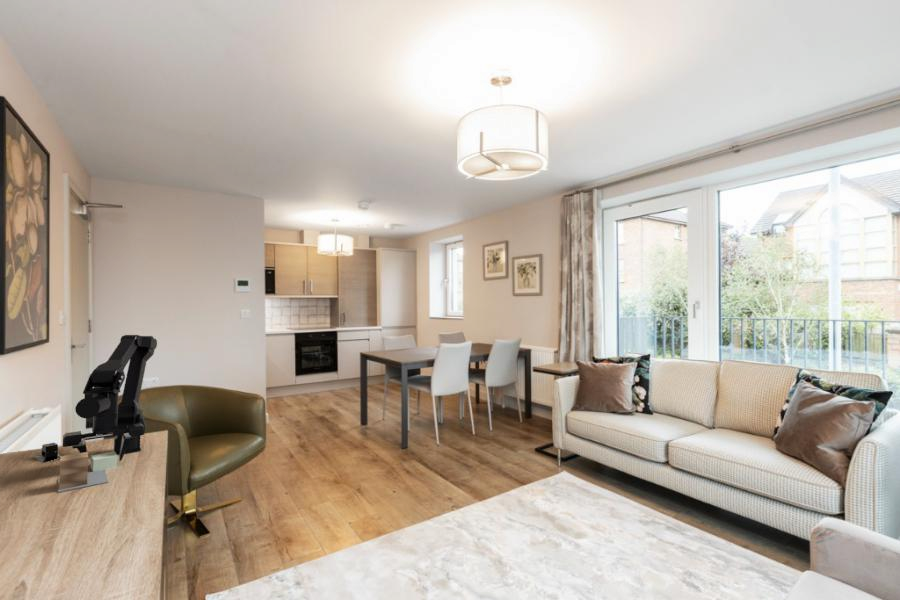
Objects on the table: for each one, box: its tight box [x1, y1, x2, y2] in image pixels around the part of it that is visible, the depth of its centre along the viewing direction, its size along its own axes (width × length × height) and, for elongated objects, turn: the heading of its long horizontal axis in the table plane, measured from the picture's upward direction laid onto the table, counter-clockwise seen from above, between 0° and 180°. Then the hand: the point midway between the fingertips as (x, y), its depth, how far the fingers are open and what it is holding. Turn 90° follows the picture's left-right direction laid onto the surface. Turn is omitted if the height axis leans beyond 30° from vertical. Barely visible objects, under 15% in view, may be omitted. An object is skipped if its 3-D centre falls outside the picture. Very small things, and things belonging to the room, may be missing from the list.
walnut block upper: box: [59, 451, 89, 477], centre depth 114 cm, size 6×6×4 cm
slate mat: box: [57, 469, 109, 494], centre depth 116 cm, size 10×12×1 cm
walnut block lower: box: [59, 470, 89, 490], centre depth 113 cm, size 6×6×4 cm
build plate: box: [33, 442, 61, 464], centre depth 135 cm, size 12×7×5 cm, turn 56°
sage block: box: [90, 450, 118, 472], centre depth 127 cm, size 6×6×4 cm
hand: (104, 463), depth 127 cm, fingers open, 7 cm apart
